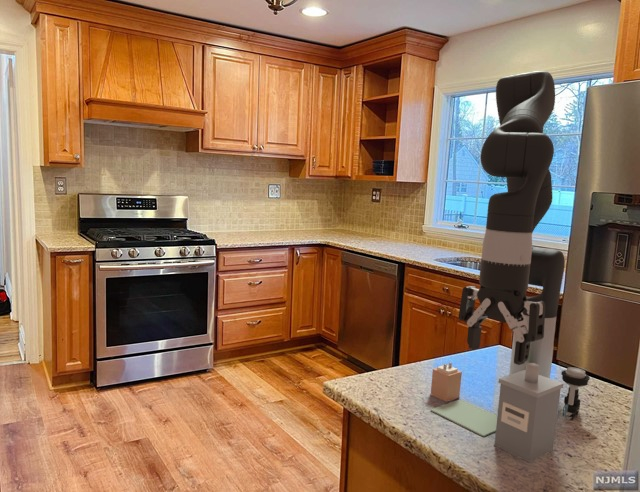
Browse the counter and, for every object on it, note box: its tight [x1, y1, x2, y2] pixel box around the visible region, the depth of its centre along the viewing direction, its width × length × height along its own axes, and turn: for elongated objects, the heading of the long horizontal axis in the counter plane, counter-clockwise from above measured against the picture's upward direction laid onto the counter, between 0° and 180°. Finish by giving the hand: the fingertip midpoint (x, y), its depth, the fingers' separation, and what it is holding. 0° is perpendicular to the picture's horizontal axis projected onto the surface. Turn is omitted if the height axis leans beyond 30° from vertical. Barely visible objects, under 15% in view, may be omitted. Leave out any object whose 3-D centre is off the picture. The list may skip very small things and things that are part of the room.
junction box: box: [493, 363, 565, 463], centre depth 95 cm, size 9×8×16 cm
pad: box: [430, 398, 498, 438], centre depth 107 cm, size 10×13×1 cm
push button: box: [560, 366, 591, 421], centre depth 109 cm, size 7×5×10 cm
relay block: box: [430, 362, 463, 403], centre depth 117 cm, size 4×4×8 cm
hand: (495, 355), depth 86 cm, fingers open, 8 cm apart
